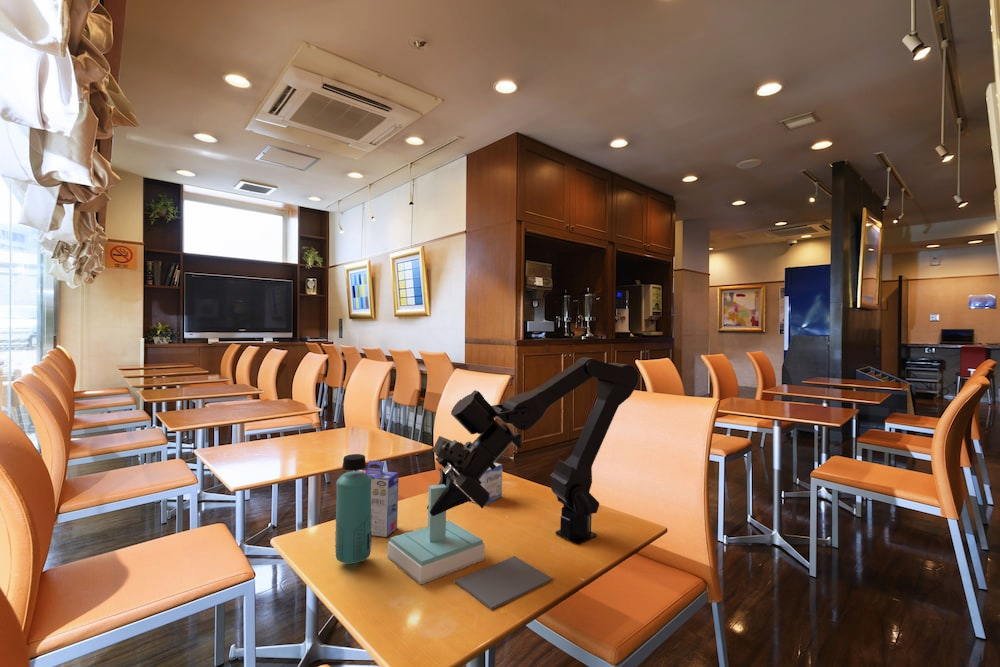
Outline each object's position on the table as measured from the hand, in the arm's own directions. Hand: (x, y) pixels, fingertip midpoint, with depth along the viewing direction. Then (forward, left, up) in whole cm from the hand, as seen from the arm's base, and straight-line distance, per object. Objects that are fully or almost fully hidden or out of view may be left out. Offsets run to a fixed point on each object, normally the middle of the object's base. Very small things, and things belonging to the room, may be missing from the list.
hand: (429, 512), depth 88 cm
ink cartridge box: (+3, -19, -9) cm, 21 cm away
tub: (-1, 0, -9) cm, 9 cm away
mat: (-6, +14, -9) cm, 18 cm away
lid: (-1, 0, -6) cm, 6 cm away
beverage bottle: (+12, -8, -9) cm, 17 cm away
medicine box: (-28, -18, -9) cm, 35 cm away
